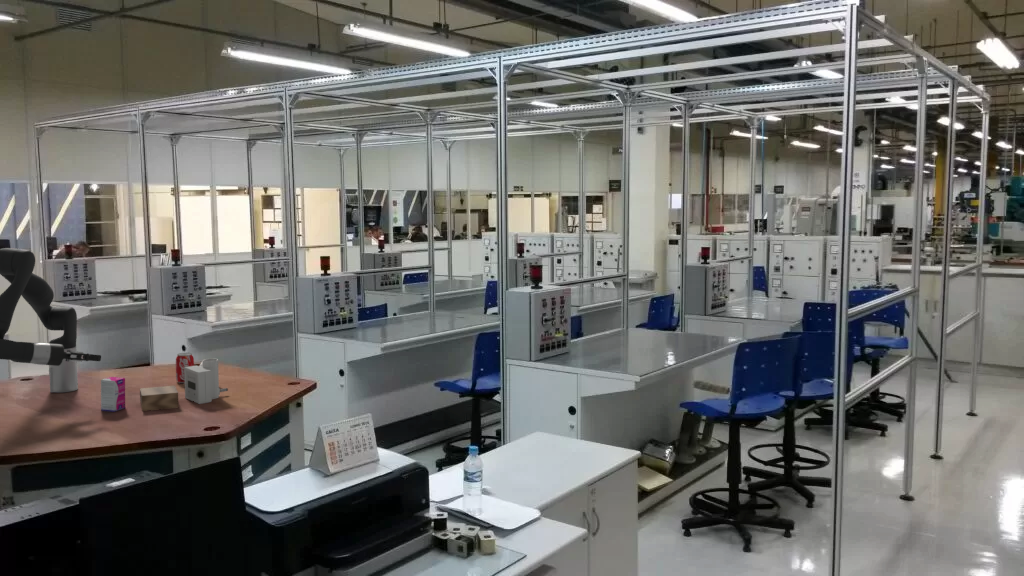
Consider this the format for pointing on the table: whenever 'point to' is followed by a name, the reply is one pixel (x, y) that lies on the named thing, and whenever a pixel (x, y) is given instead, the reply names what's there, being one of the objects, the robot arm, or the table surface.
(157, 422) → the table surface
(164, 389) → the walnut block
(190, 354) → the soda can
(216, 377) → the thermostat
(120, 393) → the supplement box
